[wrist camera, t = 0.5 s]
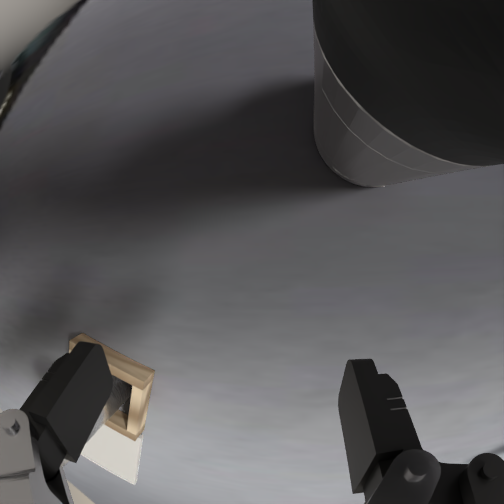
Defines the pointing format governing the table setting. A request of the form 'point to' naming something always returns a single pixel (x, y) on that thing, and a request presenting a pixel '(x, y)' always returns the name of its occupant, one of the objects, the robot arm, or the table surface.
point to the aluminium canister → (111, 405)
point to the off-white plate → (115, 453)
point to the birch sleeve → (140, 390)
